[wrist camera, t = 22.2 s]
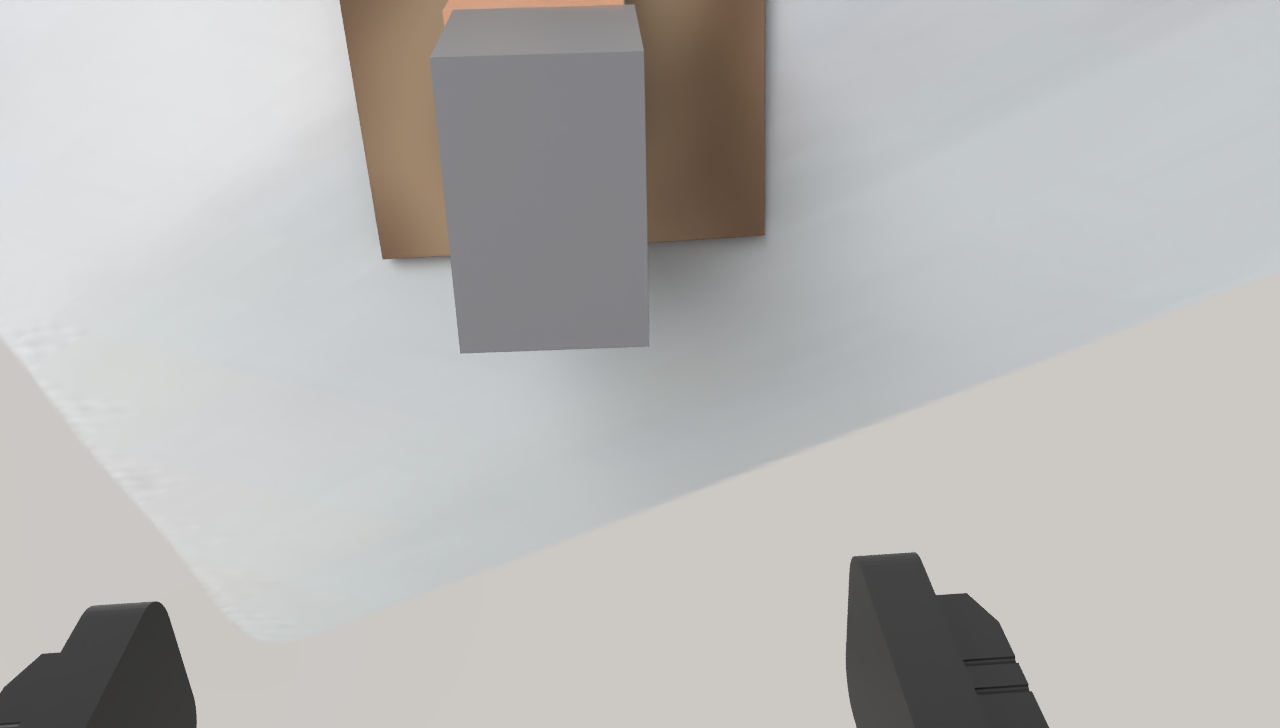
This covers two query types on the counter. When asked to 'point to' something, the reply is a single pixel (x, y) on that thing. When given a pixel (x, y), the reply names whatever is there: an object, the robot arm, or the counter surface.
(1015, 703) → the robot arm
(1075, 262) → the counter surface
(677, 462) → the counter surface
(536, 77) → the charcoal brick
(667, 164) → the plate
